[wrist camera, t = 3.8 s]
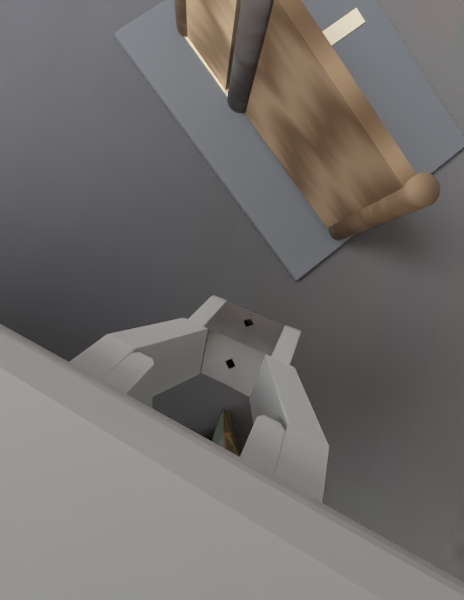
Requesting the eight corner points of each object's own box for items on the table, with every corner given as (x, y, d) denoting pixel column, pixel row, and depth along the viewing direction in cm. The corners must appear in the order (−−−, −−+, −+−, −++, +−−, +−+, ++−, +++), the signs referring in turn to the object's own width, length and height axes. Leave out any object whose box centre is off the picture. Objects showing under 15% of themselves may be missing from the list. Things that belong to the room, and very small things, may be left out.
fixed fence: (257, 104, 26) (299, -36, 15) (237, 118, 26) (265, -14, 15) (191, 11, 25) (184, -210, 14) (170, 24, 25) (147, -189, 14)
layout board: (294, 280, 27) (297, 280, 27) (114, 38, 25) (113, 32, 24) (463, 146, 29) (469, 142, 29) (313, -90, 27) (315, -99, 26)
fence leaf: (241, 116, 25) (272, -11, 15) (258, 104, 25) (299, -29, 15) (334, 245, 27) (421, 212, 16) (349, 233, 27) (445, 193, 16)
